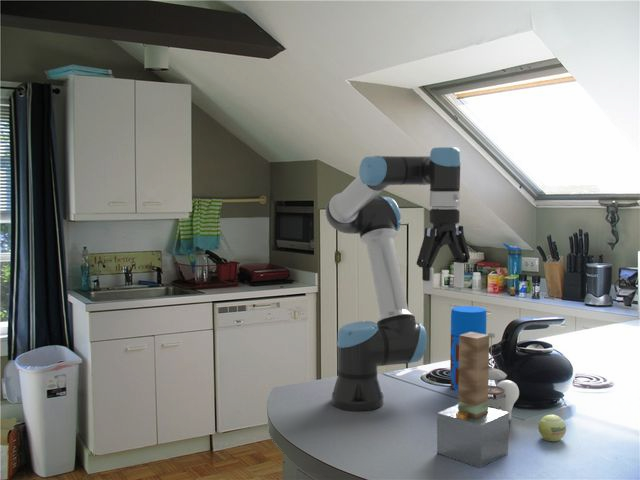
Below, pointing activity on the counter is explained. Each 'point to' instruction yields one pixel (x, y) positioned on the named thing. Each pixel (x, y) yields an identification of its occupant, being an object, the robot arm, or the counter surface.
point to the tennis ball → (552, 428)
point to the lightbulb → (508, 394)
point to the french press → (494, 390)
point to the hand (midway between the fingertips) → (443, 290)
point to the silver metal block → (472, 435)
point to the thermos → (461, 323)
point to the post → (473, 374)
